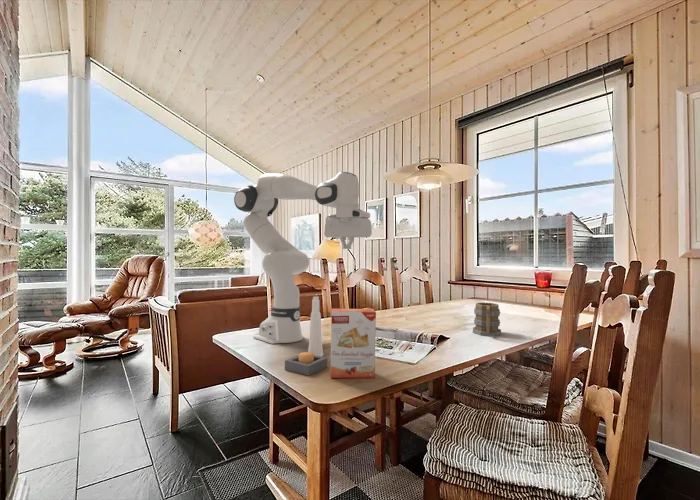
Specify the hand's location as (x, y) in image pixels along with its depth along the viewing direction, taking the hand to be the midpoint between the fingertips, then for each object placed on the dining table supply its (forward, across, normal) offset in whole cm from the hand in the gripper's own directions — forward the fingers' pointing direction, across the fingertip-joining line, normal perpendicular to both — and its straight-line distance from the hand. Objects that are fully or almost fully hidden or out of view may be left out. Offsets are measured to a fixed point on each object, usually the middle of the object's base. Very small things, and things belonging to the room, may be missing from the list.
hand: (347, 249), depth 139 cm
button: (+39, 0, -24) cm, 46 cm away
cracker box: (+40, +16, -21) cm, 48 cm away
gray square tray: (+40, 0, -24) cm, 47 cm away
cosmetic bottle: (+40, -6, -11) cm, 42 cm away
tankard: (+40, +41, +59) cm, 82 cm away
